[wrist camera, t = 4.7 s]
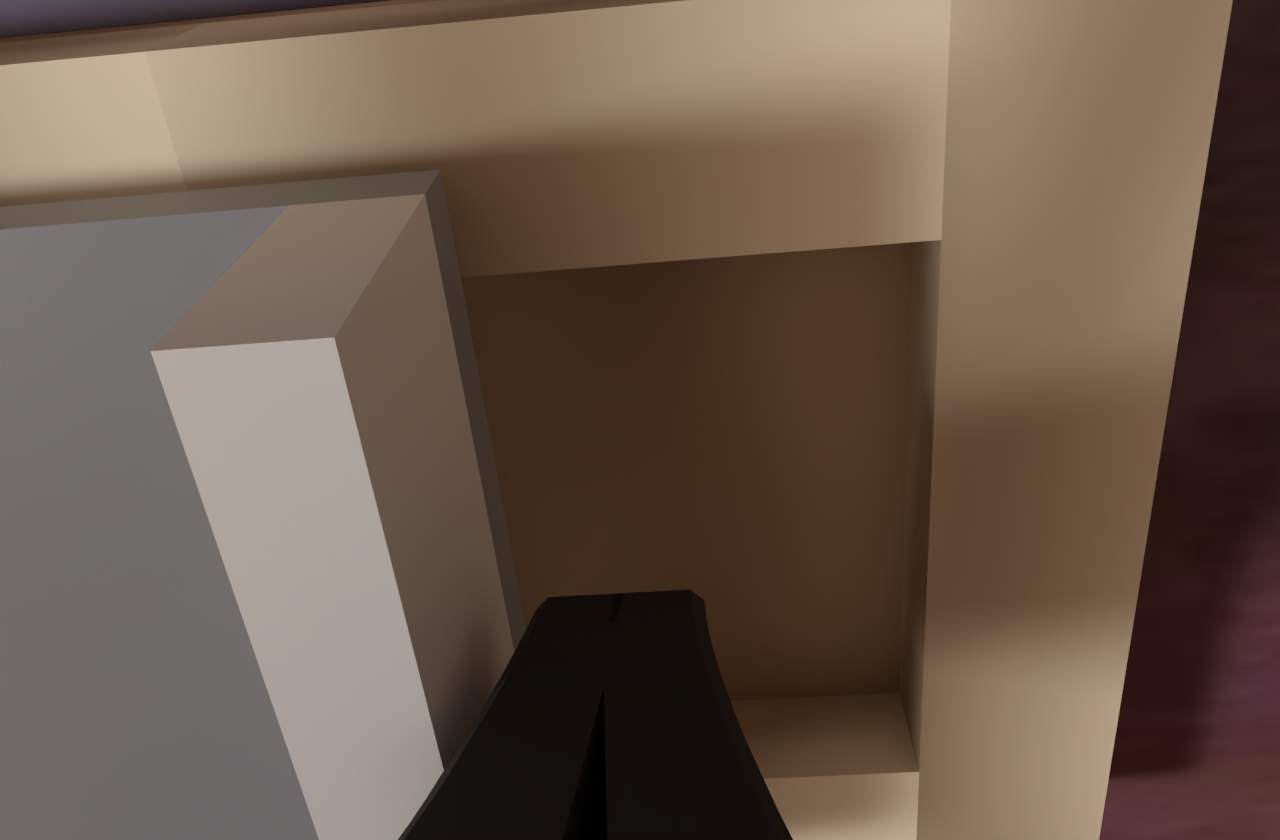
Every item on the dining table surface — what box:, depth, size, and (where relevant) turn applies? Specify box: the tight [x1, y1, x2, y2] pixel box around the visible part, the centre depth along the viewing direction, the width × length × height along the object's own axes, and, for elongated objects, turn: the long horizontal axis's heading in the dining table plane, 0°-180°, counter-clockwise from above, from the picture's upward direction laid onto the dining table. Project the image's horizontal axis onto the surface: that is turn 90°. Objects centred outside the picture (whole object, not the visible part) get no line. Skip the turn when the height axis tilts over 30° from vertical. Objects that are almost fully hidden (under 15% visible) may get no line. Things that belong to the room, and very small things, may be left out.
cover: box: [0, 169, 526, 840], centre depth 9 cm, size 7×8×3 cm
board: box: [0, 0, 1233, 840], centre depth 12 cm, size 22×10×2 cm, turn 95°
